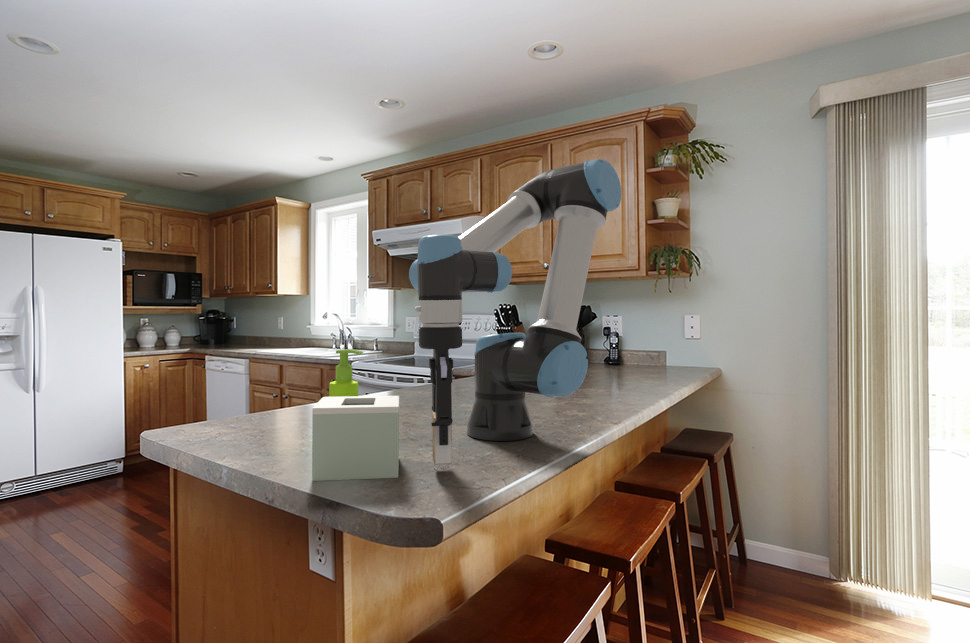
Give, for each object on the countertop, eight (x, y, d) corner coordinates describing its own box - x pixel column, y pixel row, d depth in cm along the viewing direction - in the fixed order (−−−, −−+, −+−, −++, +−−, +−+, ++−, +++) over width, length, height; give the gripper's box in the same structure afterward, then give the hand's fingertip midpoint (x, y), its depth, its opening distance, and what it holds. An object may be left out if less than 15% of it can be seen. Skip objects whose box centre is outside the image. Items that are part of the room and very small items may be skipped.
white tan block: (432, 456, 95) (432, 412, 95) (449, 455, 95) (448, 411, 95) (434, 464, 90) (434, 418, 90) (451, 463, 90) (451, 417, 90)
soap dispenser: (355, 449, 108) (355, 350, 107) (323, 447, 109) (324, 350, 109) (367, 442, 113) (367, 349, 113) (337, 440, 115) (337, 348, 114)
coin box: (398, 458, 101) (399, 395, 101) (398, 477, 89) (398, 406, 89) (322, 460, 99) (323, 396, 99) (312, 480, 87) (312, 408, 87)
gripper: (417, 323, 100) (418, 445, 101) (420, 328, 82) (422, 475, 83) (456, 323, 101) (457, 443, 102) (468, 327, 84) (469, 473, 84)
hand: (442, 457), depth 93 cm, fingers closed on white tan block, 5 cm apart
